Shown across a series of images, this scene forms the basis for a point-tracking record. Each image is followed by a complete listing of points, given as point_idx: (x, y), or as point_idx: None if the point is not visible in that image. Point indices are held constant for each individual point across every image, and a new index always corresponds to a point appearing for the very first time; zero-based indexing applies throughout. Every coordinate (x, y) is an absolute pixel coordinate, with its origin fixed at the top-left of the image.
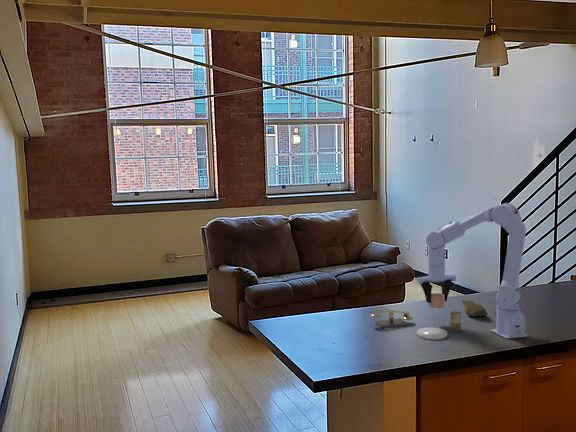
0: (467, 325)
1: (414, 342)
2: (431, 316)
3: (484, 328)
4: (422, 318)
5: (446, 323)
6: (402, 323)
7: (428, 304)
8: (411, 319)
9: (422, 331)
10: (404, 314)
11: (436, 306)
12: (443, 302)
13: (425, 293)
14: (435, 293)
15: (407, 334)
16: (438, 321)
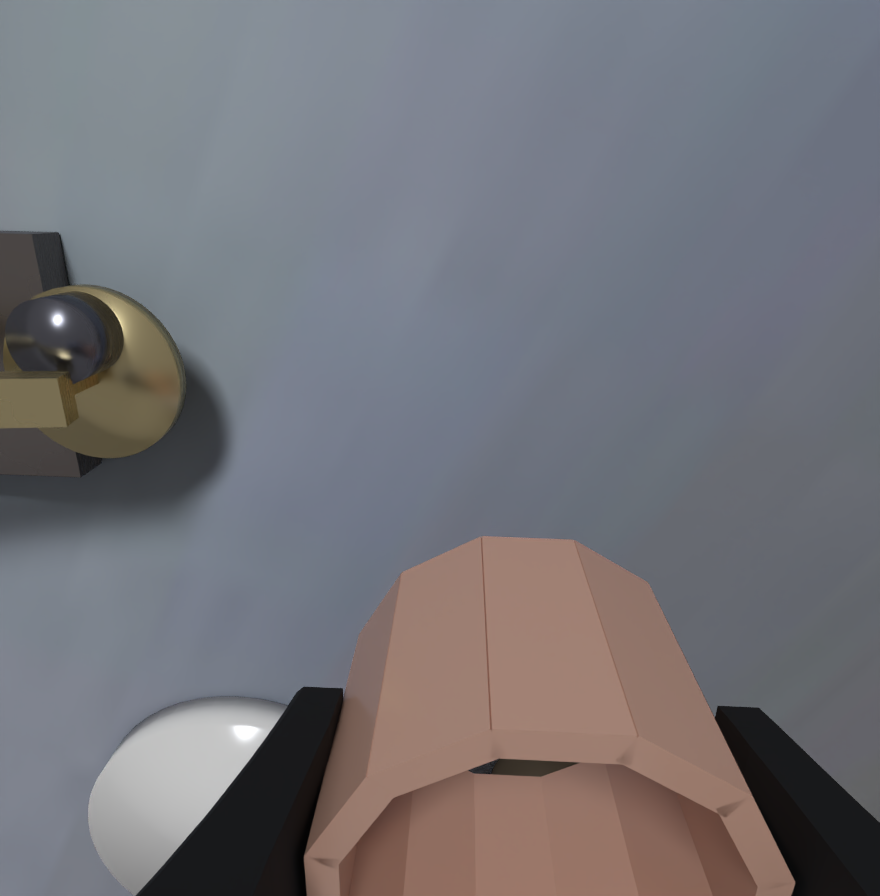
0: (789, 685)
1: (33, 890)
2: (637, 158)
3: (866, 810)
4: (439, 218)
5: (617, 547)
6: (11, 472)
7: (353, 657)
8: (141, 450)
9: (147, 809)
10: (19, 355)
11: (437, 800)
12: (605, 865)
13: (192, 887)
14: (636, 770)
15: (22, 721)
16: (575, 440)
